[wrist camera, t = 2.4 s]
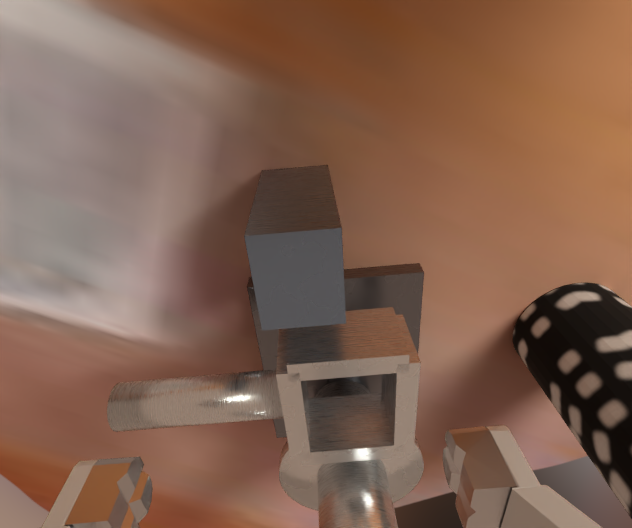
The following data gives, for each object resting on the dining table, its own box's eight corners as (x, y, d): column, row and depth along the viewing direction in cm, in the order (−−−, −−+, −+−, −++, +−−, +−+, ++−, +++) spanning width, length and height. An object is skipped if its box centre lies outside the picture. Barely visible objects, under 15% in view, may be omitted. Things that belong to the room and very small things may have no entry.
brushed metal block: (261, 170, 24) (244, 236, 16) (327, 165, 24) (341, 227, 16) (272, 243, 26) (261, 330, 19) (332, 238, 26) (346, 323, 19)
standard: (139, 284, 28) (-129, 703, 10) (419, 260, 27) (625, 644, 10) (195, 440, 36) (102, 808, 19) (408, 422, 36) (509, 776, 19)
